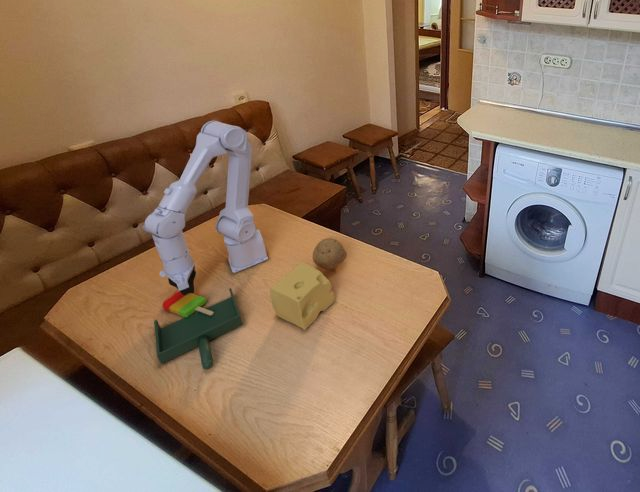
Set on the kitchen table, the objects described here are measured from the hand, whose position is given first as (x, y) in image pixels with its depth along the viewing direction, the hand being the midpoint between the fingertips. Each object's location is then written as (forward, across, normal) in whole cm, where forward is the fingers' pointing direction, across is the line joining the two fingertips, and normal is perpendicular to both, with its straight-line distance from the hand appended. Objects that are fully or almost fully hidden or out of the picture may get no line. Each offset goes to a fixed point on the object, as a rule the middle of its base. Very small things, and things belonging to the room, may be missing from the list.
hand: (189, 293), depth 96 cm
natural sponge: (+1, +12, +34) cm, 36 cm away
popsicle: (+1, +5, 0) cm, 5 cm away
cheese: (+1, +24, +23) cm, 33 cm away
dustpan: (+1, +18, +1) cm, 18 cm away
